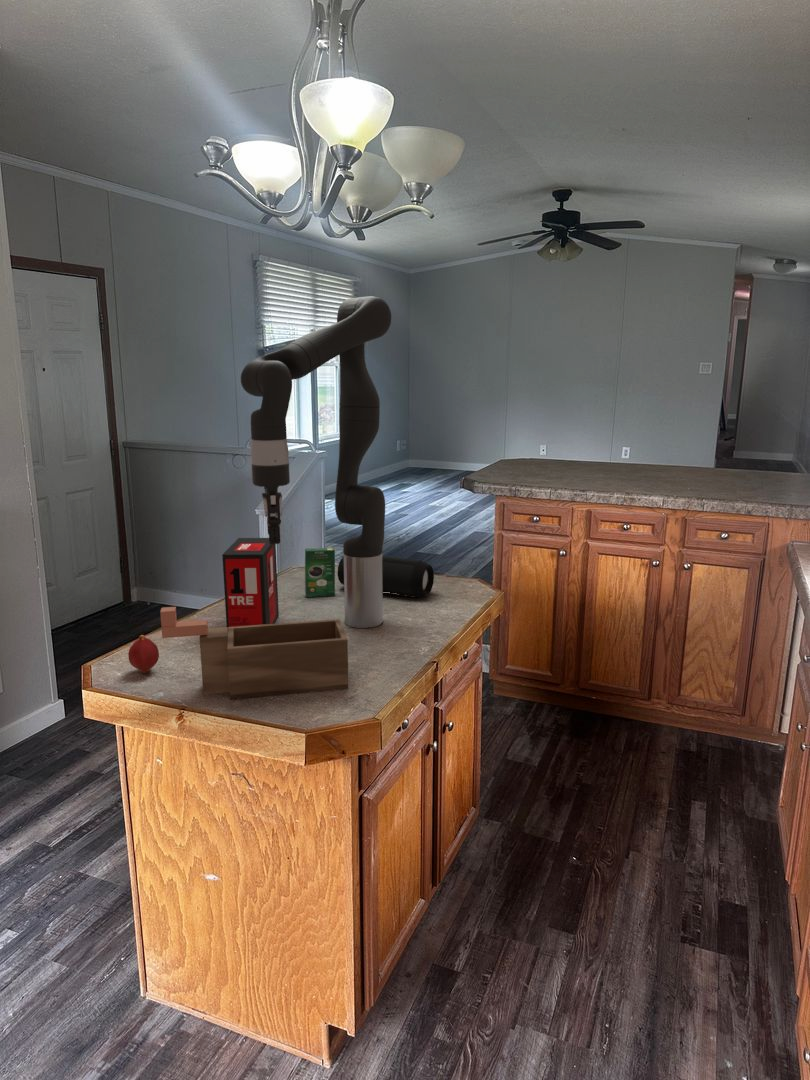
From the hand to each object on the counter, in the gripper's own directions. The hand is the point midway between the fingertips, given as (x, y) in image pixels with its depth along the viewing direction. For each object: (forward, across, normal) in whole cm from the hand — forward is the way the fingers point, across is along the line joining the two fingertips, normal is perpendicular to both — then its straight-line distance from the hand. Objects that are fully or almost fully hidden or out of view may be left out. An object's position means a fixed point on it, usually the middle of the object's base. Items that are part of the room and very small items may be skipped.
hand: (273, 539), depth 152 cm
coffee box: (+26, +39, -13) cm, 48 cm away
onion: (+25, -5, +27) cm, 37 cm away
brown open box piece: (+25, -16, +1) cm, 30 cm away
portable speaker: (+26, +38, -31) cm, 56 cm away
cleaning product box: (+26, +17, +5) cm, 31 cm away
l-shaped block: (+14, -16, +18) cm, 27 cm away
